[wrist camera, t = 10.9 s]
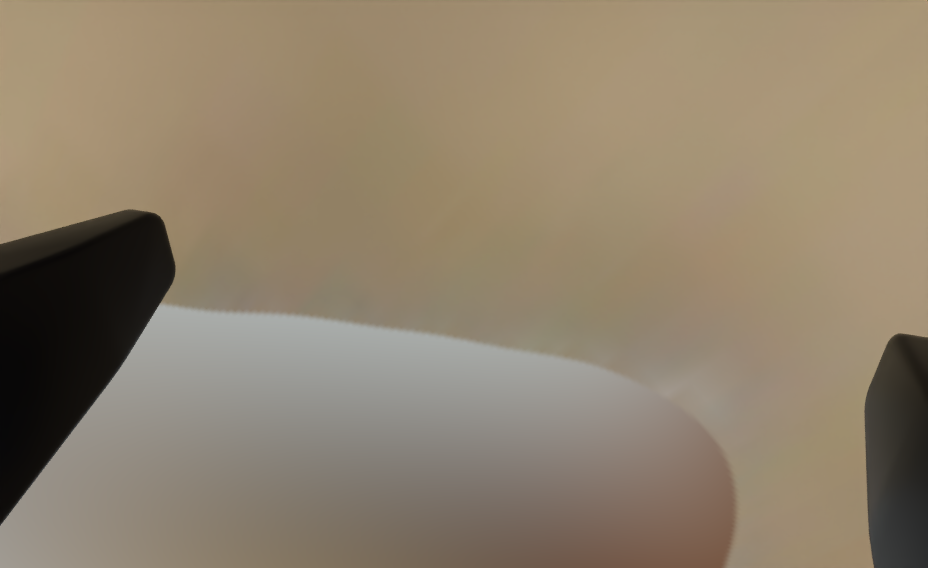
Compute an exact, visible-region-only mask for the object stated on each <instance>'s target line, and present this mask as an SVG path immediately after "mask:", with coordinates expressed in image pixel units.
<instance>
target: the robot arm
mask: <svg viewBox="0 0 928 568" xmlns="http://www.w3.org/2000/svg"><path fill="white" fill-rule="evenodd" d="M174 277H175V262H174V258H173V254H172V250H171V247H170V243H169V239H168V235H167V231H166V228H165V224H164V222H163V220H162V219H161V217H160V216H158V215H157V214H155V213H151V212H145V211H139V210H124V211H120V212H117V213H113V214H109V215H106V216H102V217H98V218H95V219H91V220H87V221H84V222H80V223H76V224H73V225H69V226H66V227H62V228H58V229H55V230H51V231H47V232H44V233H40V234H36V235H33V236H29V237H25V238H22V239H18V240H14V241H11V242H7V243H3V244H0V525H1V524H2V523H3V521H4V520H5V519H6V518H7V516H8V515H9V513H10V512H11V511H12V510H13V508H14V507H15V506H16V504H17V503H18V502H19V500H20V499H21V498H22V496H23V495H24V494H25V493H26V491H27V490H28V488H29V487H30V486H31V485H32V483H33V482H34V481H35V479H36V478H37V477H38V475H39V474H40V473H41V472H42V470H43V469H44V468H45V466H46V465H47V464H48V462H49V461H50V460H51V459H52V457H53V456H54V455H55V453H56V452H57V451H58V449H59V448H60V447H61V445H62V444H63V443H64V441H65V440H66V439H67V438H68V436H69V435H70V434H71V432H72V431H73V430H74V428H75V427H76V426H77V424H78V423H79V422H80V420H81V419H82V418H83V416H84V415H85V414H86V413H87V411H88V410H89V409H90V407H91V406H92V405H93V403H94V402H95V401H96V399H97V398H98V397H99V395H100V394H101V393H102V392H103V390H104V389H105V388H106V386H107V385H108V384H109V382H110V381H111V380H112V378H113V377H114V376H115V374H116V373H117V371H118V370H119V369H120V367H121V365H122V364H123V362H124V361H125V359H126V358H127V356H128V355H129V353H130V351H131V350H132V348H133V347H134V345H135V343H136V342H137V340H138V338H139V337H140V335H141V334H142V332H143V330H144V329H145V327H146V325H147V324H148V322H149V321H150V319H151V317H152V316H153V314H154V312H155V311H156V309H157V307H158V306H159V304H160V303H161V301H162V299H163V298H164V296H165V294H166V293H167V291H168V290H169V288H170V286H171V285H172V283H173V280H174ZM865 441H866V471H867V500H868V523H869V536H870V544H871V551H872V558H873V564H874V568H928V338H927V337H921V336H915V335H908V334H896V335H894V336H893V337H892V338H891V339H890V340H889V342H888V344H887V346H886V348H885V350H884V353H883V355H882V358H881V360H880V362H879V365H878V367H877V370H876V372H875V375H874V377H873V379H872V382H871V384H870V387H869V389H868V392H867V396H866V401H865Z"/></svg>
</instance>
